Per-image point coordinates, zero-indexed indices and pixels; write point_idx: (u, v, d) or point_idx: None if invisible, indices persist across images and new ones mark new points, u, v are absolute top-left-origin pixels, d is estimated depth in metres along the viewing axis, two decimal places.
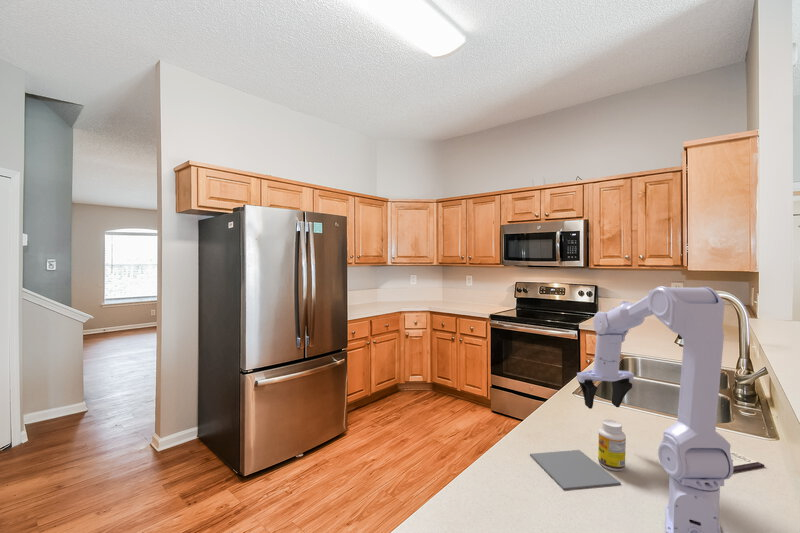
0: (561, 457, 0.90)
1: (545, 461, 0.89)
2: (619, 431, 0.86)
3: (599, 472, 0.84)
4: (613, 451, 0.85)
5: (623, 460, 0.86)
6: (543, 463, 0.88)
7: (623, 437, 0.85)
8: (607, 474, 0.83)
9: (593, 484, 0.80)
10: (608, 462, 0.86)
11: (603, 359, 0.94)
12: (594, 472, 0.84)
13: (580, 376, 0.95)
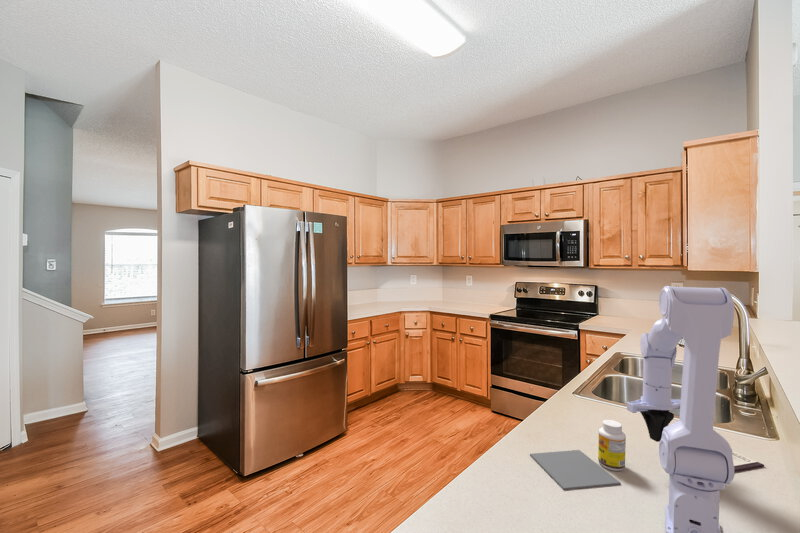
0: (561, 457, 0.90)
1: (545, 461, 0.89)
2: (619, 431, 0.86)
3: (599, 472, 0.84)
4: (613, 451, 0.85)
5: (623, 460, 0.86)
6: (543, 463, 0.88)
7: (623, 437, 0.85)
8: (607, 474, 0.83)
9: (593, 484, 0.80)
10: (608, 462, 0.86)
11: (649, 384, 0.88)
12: (594, 472, 0.84)
13: (632, 406, 0.88)
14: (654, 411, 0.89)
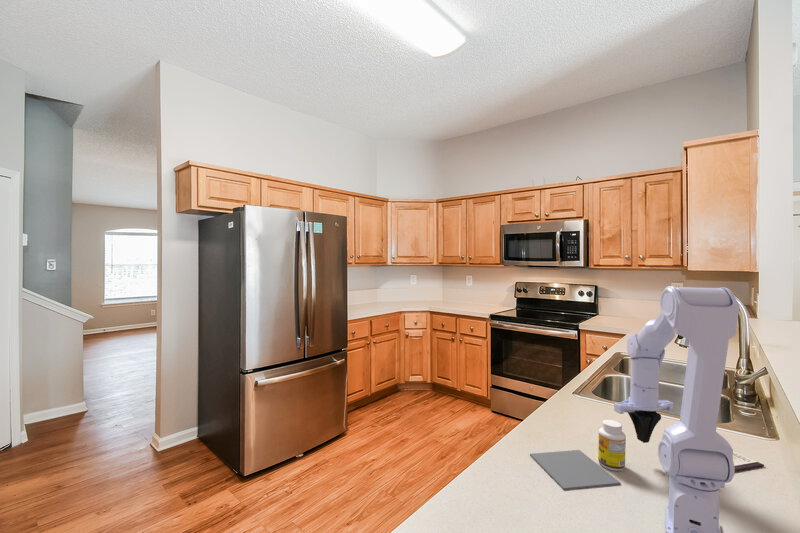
0: (561, 457, 0.90)
1: (545, 461, 0.89)
2: (619, 431, 0.86)
3: (599, 472, 0.84)
4: (613, 451, 0.85)
5: (623, 460, 0.86)
6: (543, 463, 0.88)
7: (623, 437, 0.85)
8: (607, 474, 0.83)
9: (593, 484, 0.80)
10: (608, 462, 0.86)
11: (638, 385, 0.88)
12: (594, 472, 0.84)
13: (618, 406, 0.87)
14: (641, 412, 0.88)
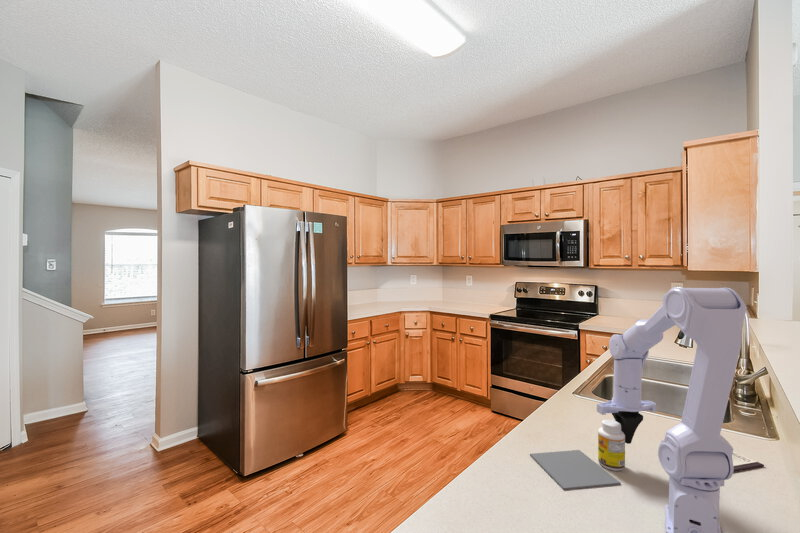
0: (561, 457, 0.90)
1: (545, 461, 0.89)
2: (618, 431, 0.86)
3: (599, 472, 0.84)
4: (613, 451, 0.85)
5: (623, 459, 0.86)
6: (543, 463, 0.88)
7: (622, 437, 0.85)
8: (607, 474, 0.83)
9: (593, 484, 0.80)
10: (608, 462, 0.86)
11: (623, 387, 0.86)
12: (594, 472, 0.84)
13: (601, 407, 0.87)
14: (624, 413, 0.87)
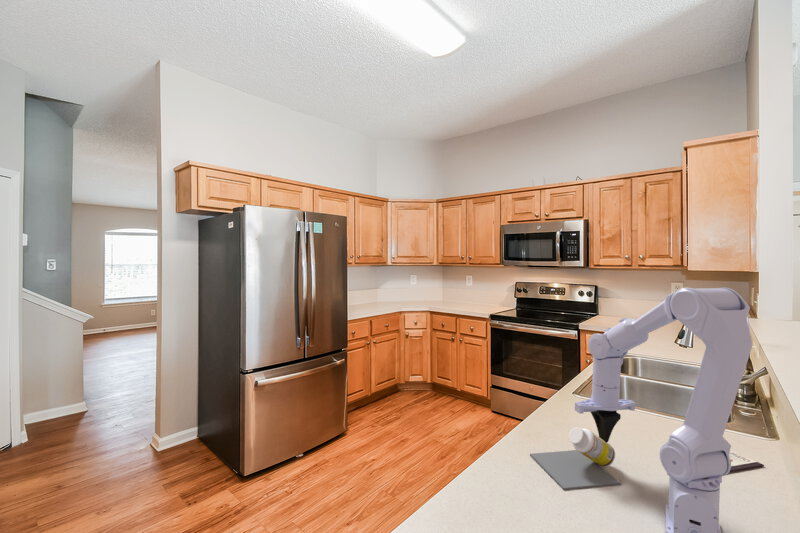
0: (561, 457, 0.90)
1: (545, 461, 0.89)
2: (585, 440, 0.85)
3: (599, 472, 0.84)
4: (596, 456, 0.85)
5: (608, 451, 0.85)
6: (543, 463, 0.88)
7: (592, 441, 0.84)
8: (607, 474, 0.83)
9: (593, 484, 0.80)
10: (601, 463, 0.86)
11: (605, 386, 0.85)
12: (594, 472, 0.84)
13: (578, 406, 0.86)
14: (602, 411, 0.87)
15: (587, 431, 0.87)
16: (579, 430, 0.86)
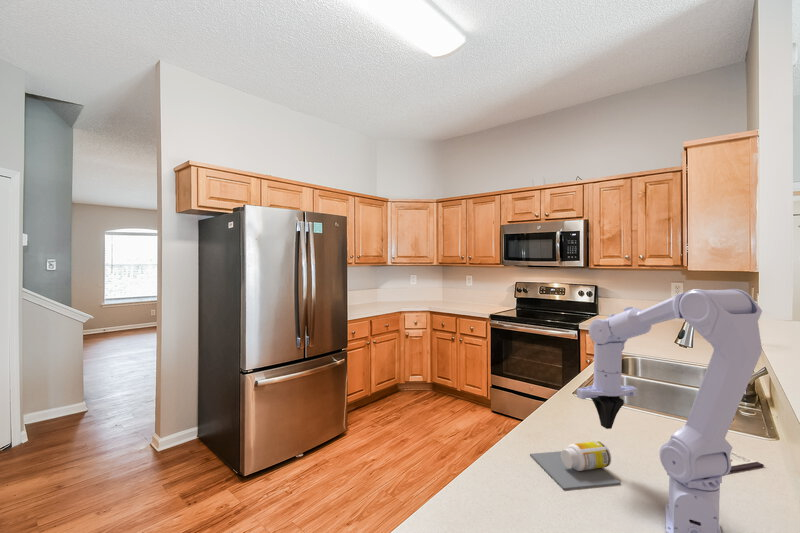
0: None
1: (545, 461, 0.89)
2: (576, 462, 0.83)
3: (599, 472, 0.84)
4: (592, 468, 0.84)
5: (603, 458, 0.84)
6: (543, 463, 0.88)
7: (583, 461, 0.83)
8: (607, 474, 0.83)
9: (593, 484, 0.80)
10: (600, 467, 0.86)
11: (606, 371, 0.85)
12: (594, 472, 0.84)
13: (580, 392, 0.86)
14: (604, 397, 0.86)
15: (576, 450, 0.84)
16: (568, 454, 0.84)
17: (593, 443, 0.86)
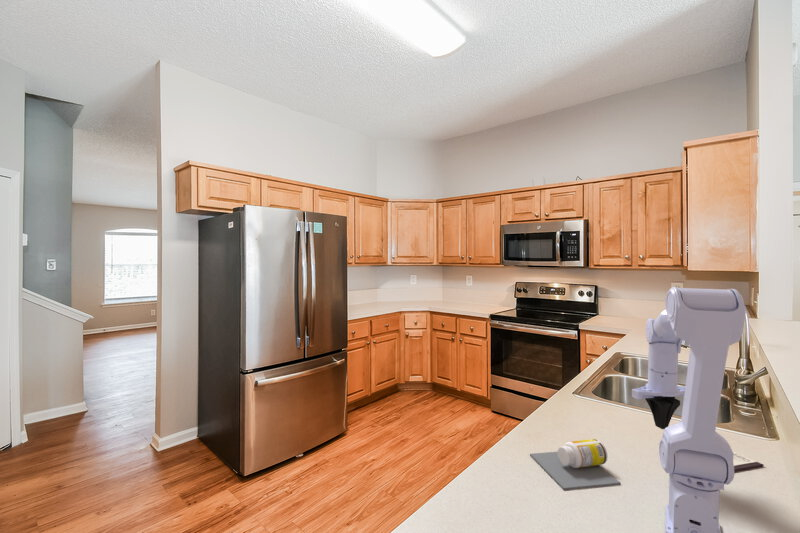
0: None
1: (545, 461, 0.89)
2: (572, 456, 0.84)
3: (599, 472, 0.84)
4: (591, 463, 0.85)
5: (597, 450, 0.85)
6: (543, 463, 0.88)
7: (578, 454, 0.84)
8: (607, 474, 0.83)
9: (593, 484, 0.80)
10: (599, 464, 0.86)
11: (654, 370, 0.86)
12: (594, 472, 0.84)
13: (637, 392, 0.86)
14: (660, 398, 0.86)
15: (570, 445, 0.86)
16: (563, 450, 0.86)
17: None
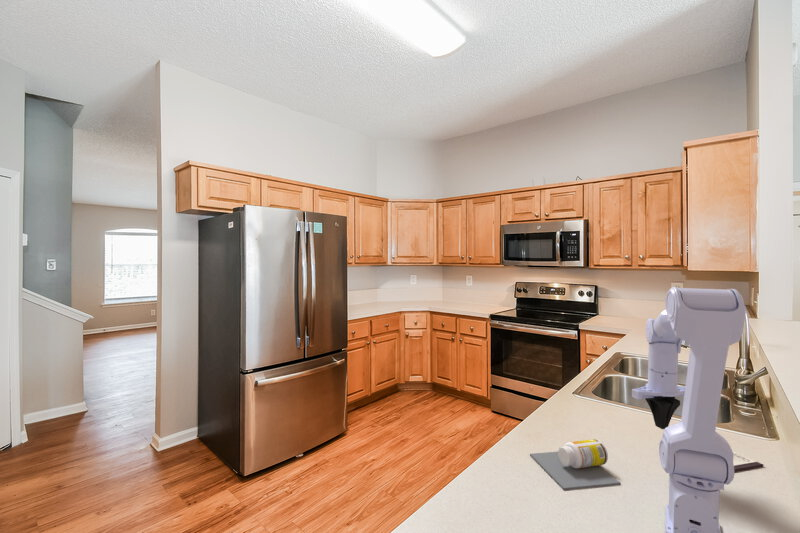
0: None
1: (545, 461, 0.89)
2: (573, 457, 0.84)
3: (599, 472, 0.84)
4: (591, 464, 0.85)
5: (598, 451, 0.85)
6: (543, 463, 0.88)
7: (579, 455, 0.84)
8: (607, 474, 0.83)
9: (593, 484, 0.80)
10: (599, 464, 0.86)
11: (654, 370, 0.86)
12: (594, 472, 0.84)
13: (637, 392, 0.86)
14: (660, 398, 0.86)
15: (571, 445, 0.86)
16: (564, 450, 0.86)
17: (587, 440, 0.88)
